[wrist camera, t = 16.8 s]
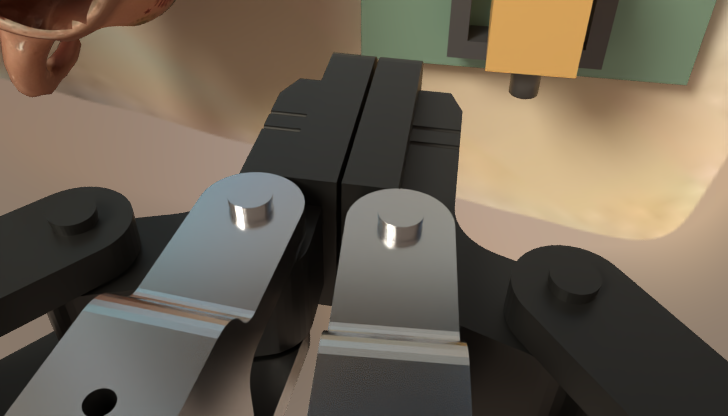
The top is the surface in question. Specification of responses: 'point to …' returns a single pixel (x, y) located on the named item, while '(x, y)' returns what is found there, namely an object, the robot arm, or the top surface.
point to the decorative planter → (59, 35)
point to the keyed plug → (536, 40)
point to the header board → (600, 49)
